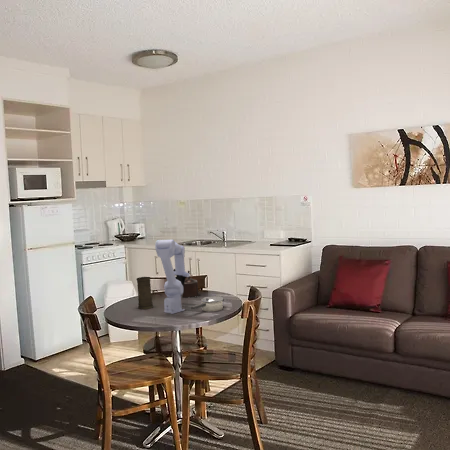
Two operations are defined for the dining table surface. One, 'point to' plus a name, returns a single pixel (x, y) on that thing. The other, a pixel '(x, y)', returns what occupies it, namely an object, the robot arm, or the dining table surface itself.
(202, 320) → the dining table surface
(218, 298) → the lid
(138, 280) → the container
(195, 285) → the manual coffee grinder
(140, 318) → the dining table surface
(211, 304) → the pot
